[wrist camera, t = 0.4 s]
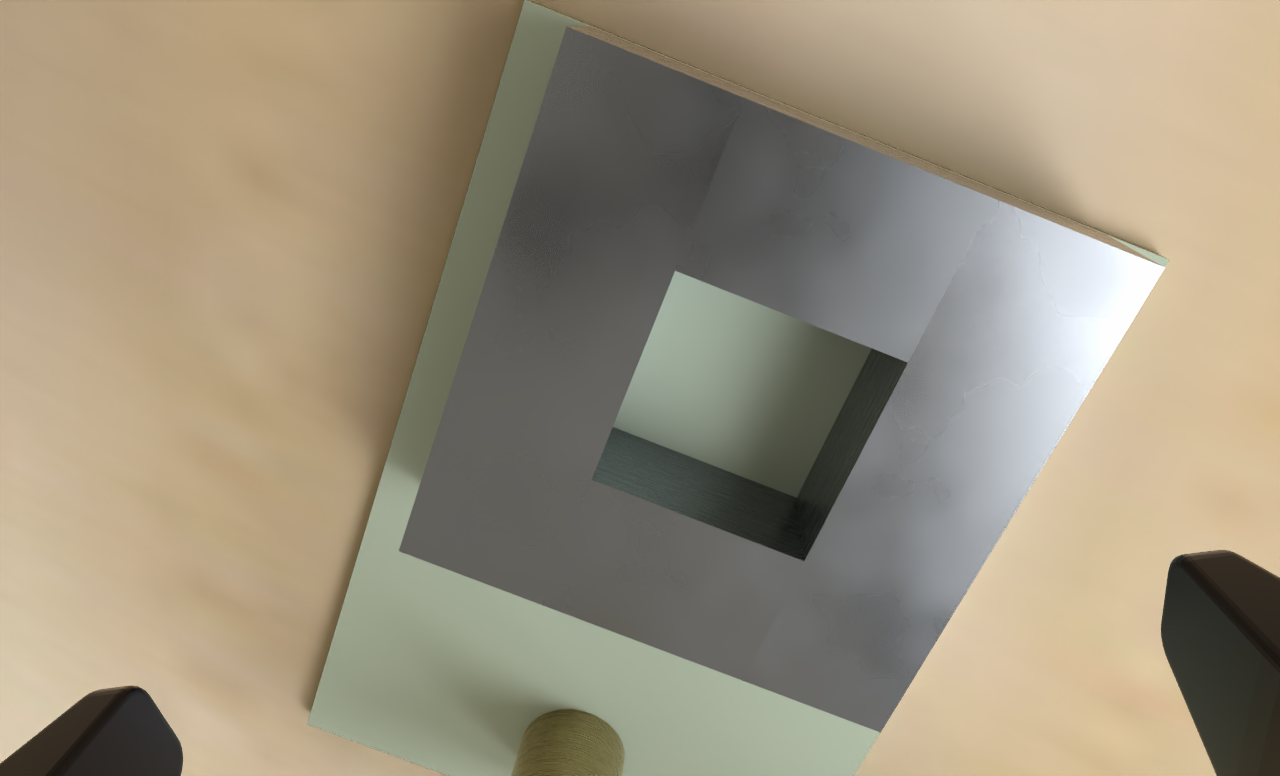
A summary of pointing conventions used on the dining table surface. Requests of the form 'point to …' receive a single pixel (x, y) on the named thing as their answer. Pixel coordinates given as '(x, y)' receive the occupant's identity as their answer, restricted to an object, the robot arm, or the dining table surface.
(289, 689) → the dining table surface
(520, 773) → the pin
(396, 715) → the mat
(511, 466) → the block
